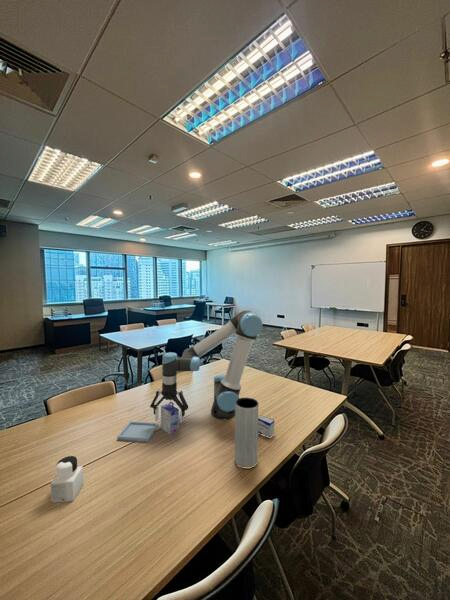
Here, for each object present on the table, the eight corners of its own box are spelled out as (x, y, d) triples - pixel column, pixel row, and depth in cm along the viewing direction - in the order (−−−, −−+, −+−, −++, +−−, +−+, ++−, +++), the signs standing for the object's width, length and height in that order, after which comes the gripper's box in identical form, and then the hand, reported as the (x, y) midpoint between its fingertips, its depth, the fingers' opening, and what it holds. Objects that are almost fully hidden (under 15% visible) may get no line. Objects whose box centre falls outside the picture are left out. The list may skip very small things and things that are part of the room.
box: (256, 433, 133) (257, 418, 132) (261, 429, 136) (261, 414, 136) (270, 439, 128) (270, 423, 127) (274, 435, 131) (274, 419, 131)
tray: (158, 426, 138) (158, 422, 138) (148, 442, 124) (148, 438, 124) (130, 424, 140) (130, 421, 140) (117, 440, 126) (117, 436, 126)
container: (62, 485, 98) (61, 453, 97) (83, 484, 99) (82, 452, 98) (50, 503, 90) (49, 468, 89) (73, 501, 91) (72, 467, 90)
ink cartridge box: (179, 431, 134) (179, 404, 133) (170, 435, 130) (170, 408, 129) (169, 423, 141) (169, 398, 140) (160, 427, 137) (160, 401, 136)
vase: (251, 473, 105) (252, 410, 103) (230, 463, 111) (231, 404, 109) (260, 459, 114) (262, 400, 112) (241, 451, 119) (242, 395, 117)
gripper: (194, 380, 136) (193, 418, 138) (149, 378, 139) (149, 415, 140) (191, 386, 129) (190, 426, 131) (143, 383, 131) (143, 422, 133)
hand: (169, 420), depth 135 cm, fingers open, 13 cm apart
